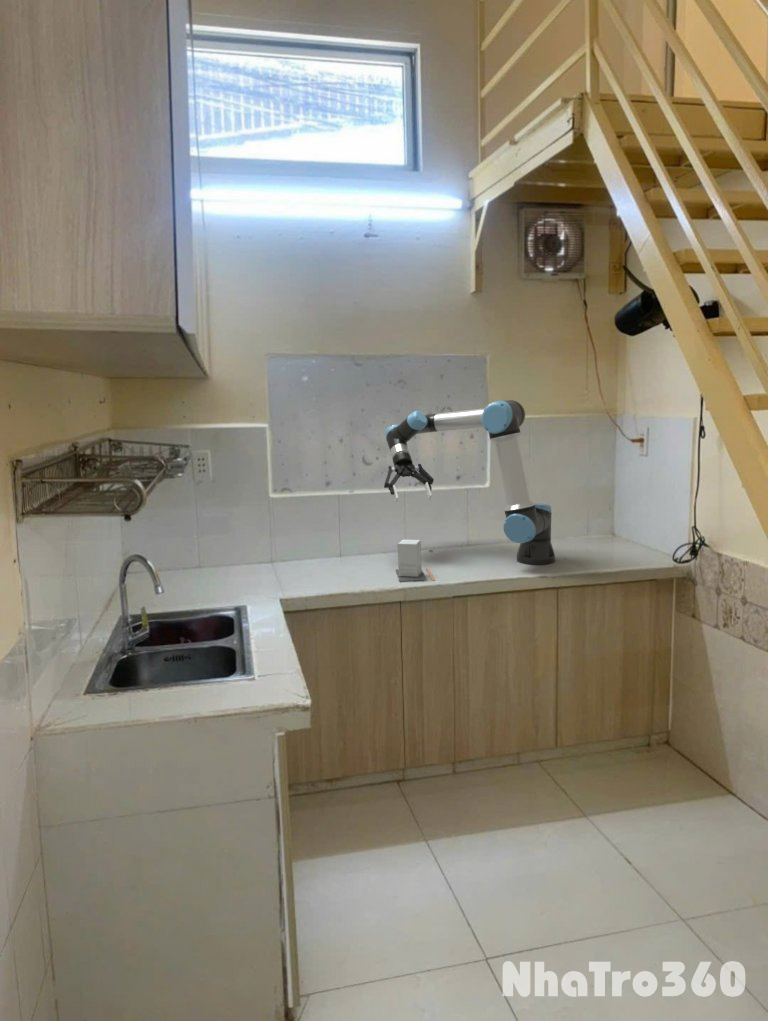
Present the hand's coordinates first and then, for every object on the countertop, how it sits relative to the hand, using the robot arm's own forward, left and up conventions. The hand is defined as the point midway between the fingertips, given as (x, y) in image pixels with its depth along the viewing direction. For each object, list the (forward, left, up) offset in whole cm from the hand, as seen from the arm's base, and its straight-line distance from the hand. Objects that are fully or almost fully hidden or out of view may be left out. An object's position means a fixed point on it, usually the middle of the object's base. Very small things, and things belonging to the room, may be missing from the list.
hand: (413, 498), depth 269 cm
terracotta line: (-4, +15, -27) cm, 31 cm away
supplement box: (+4, +15, -26) cm, 31 cm away
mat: (+3, +15, -27) cm, 31 cm away
